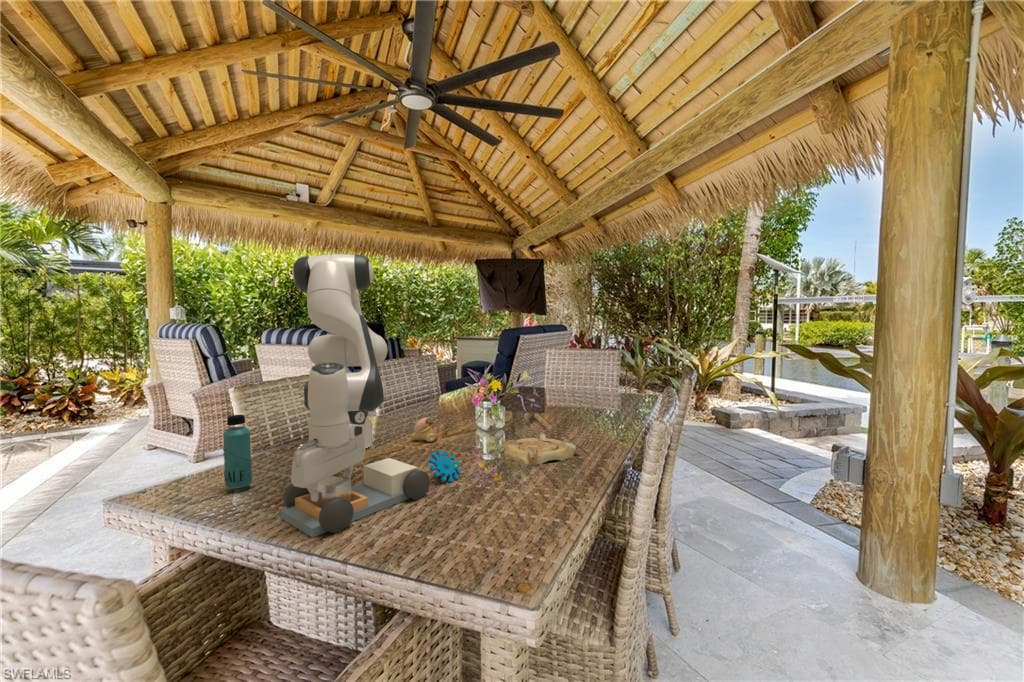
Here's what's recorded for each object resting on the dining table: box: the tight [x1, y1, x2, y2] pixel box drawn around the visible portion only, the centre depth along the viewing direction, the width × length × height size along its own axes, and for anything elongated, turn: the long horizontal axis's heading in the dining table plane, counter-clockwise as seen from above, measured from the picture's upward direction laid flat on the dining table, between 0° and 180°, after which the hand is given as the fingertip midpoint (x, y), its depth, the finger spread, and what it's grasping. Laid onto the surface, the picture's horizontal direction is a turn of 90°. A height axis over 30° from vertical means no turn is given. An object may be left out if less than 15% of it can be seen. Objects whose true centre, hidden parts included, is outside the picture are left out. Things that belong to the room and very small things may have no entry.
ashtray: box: [501, 432, 578, 466], centre depth 154 cm, size 24×24×5 cm
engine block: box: [312, 475, 352, 509], centre depth 108 cm, size 7×5×6 cm
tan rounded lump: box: [410, 416, 439, 443], centre depth 168 cm, size 9×10×10 cm
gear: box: [428, 449, 463, 483], centre depth 132 cm, size 11×6×10 cm
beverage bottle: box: [222, 414, 253, 489], centre depth 123 cm, size 6×7×20 cm
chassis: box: [280, 456, 431, 539], centre depth 114 cm, size 18×32×7 cm, turn 141°
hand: (331, 492), depth 108 cm, fingers open, 8 cm apart
